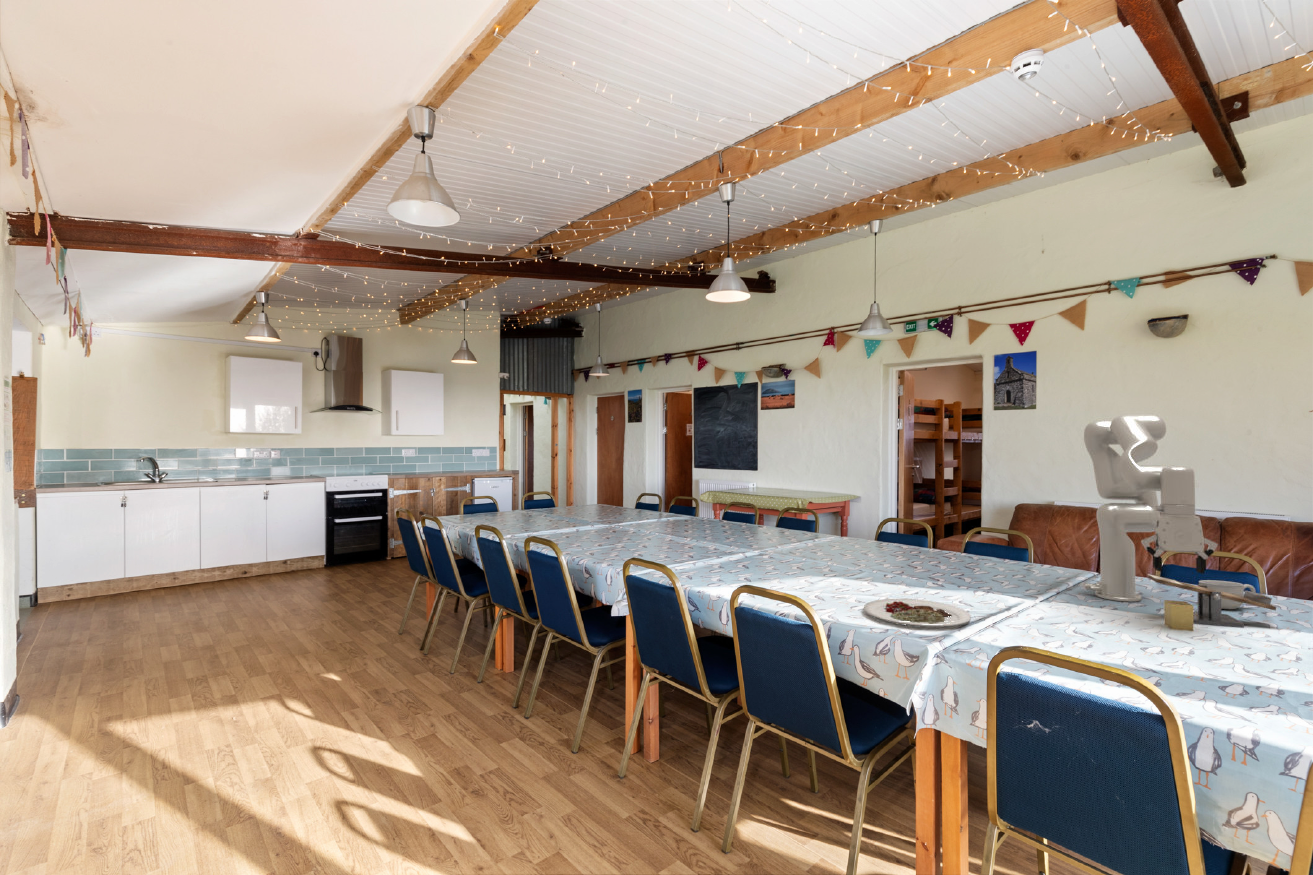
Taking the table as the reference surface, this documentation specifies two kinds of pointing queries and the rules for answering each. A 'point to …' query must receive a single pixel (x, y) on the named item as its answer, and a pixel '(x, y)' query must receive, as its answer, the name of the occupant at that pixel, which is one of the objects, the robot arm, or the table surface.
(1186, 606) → the block
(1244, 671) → the table surface
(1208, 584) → the teacup
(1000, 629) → the table surface
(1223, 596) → the beam
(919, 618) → the plated food
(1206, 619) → the beam stand
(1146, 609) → the table surface
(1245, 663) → the table surface
